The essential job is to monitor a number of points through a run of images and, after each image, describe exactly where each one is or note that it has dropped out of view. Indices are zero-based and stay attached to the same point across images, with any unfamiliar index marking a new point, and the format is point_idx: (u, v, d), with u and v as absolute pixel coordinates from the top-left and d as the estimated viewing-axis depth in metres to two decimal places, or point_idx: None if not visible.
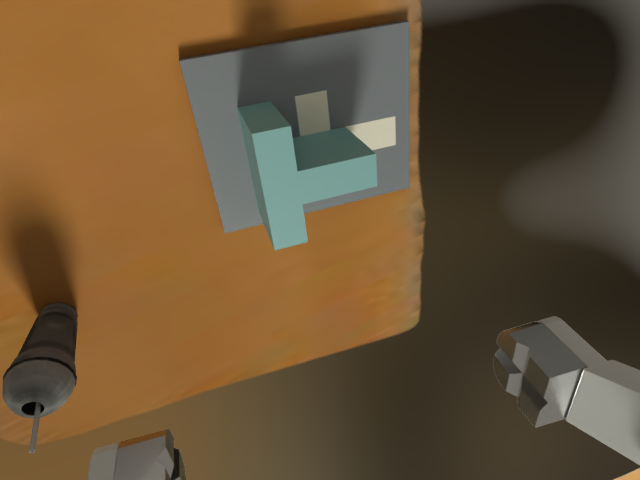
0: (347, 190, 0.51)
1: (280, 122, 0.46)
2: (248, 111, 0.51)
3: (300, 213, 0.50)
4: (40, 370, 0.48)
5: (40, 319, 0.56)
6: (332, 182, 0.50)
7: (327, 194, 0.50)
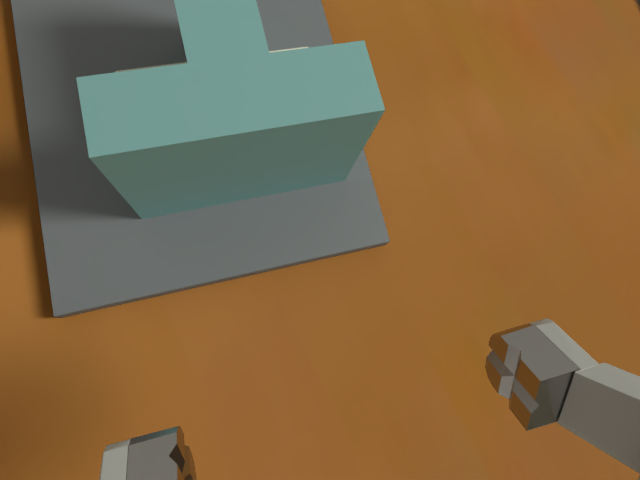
0: None
1: None
2: None
3: (291, 56, 0.22)
4: None
5: None
6: None
7: (246, 2, 0.23)
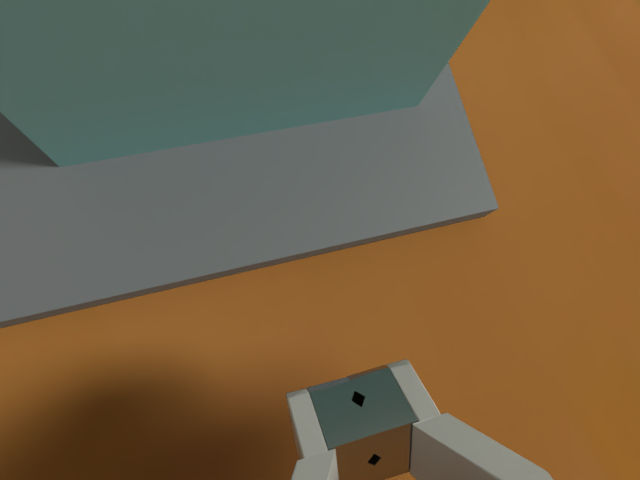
0: None
1: None
2: None
3: None
4: None
5: None
6: None
7: None
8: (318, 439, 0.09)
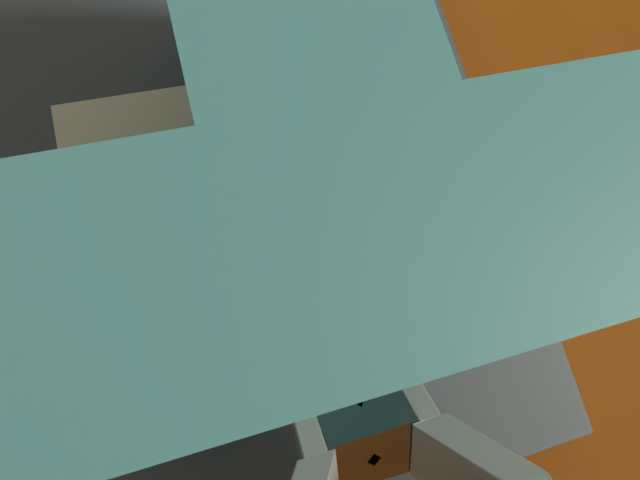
0: None
1: None
2: None
3: (531, 90, 0.07)
4: None
5: None
6: None
7: None
8: (318, 439, 0.09)
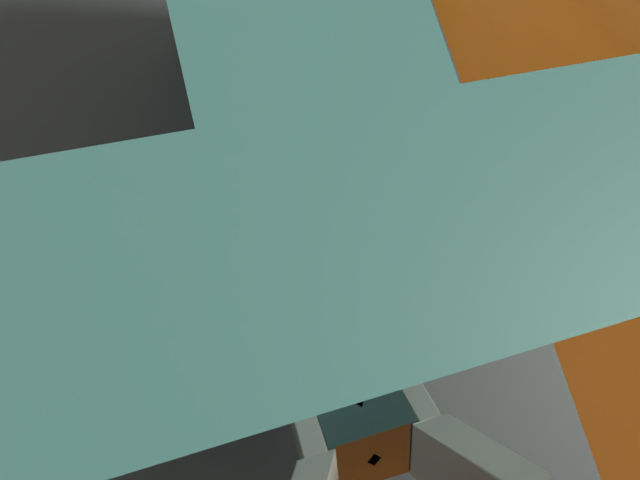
0: None
1: None
2: None
3: (527, 94, 0.07)
4: None
5: None
6: None
7: None
8: (318, 439, 0.09)
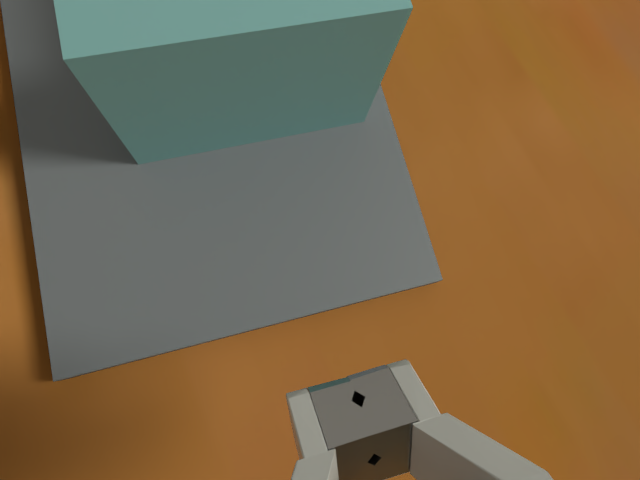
0: None
1: None
2: None
3: None
4: None
5: None
6: None
7: None
8: (318, 439, 0.09)
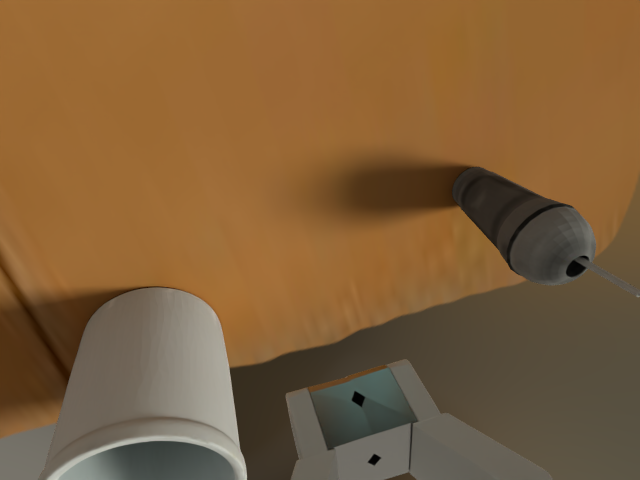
0: None
1: None
2: None
3: None
4: (530, 243, 0.36)
5: (465, 209, 0.46)
6: None
7: None
8: (318, 439, 0.09)
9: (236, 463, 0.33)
